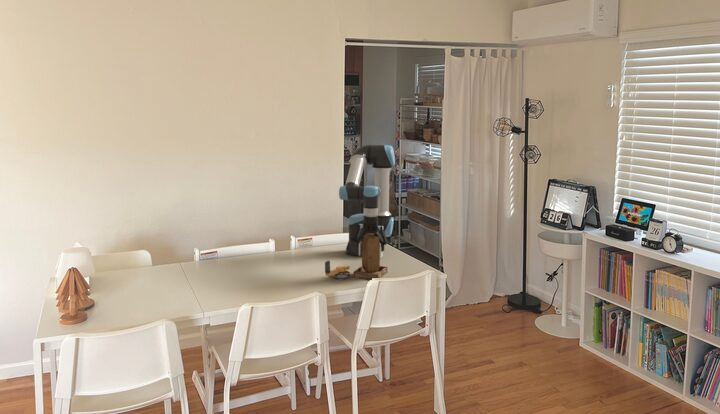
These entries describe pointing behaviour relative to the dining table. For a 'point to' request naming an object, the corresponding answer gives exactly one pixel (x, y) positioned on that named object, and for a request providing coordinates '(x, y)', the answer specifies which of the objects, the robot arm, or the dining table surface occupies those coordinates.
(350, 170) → the robot arm
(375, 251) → the block
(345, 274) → the crank base
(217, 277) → the dining table surface
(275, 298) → the dining table surface
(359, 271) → the tray
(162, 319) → the dining table surface
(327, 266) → the crank
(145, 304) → the dining table surface
